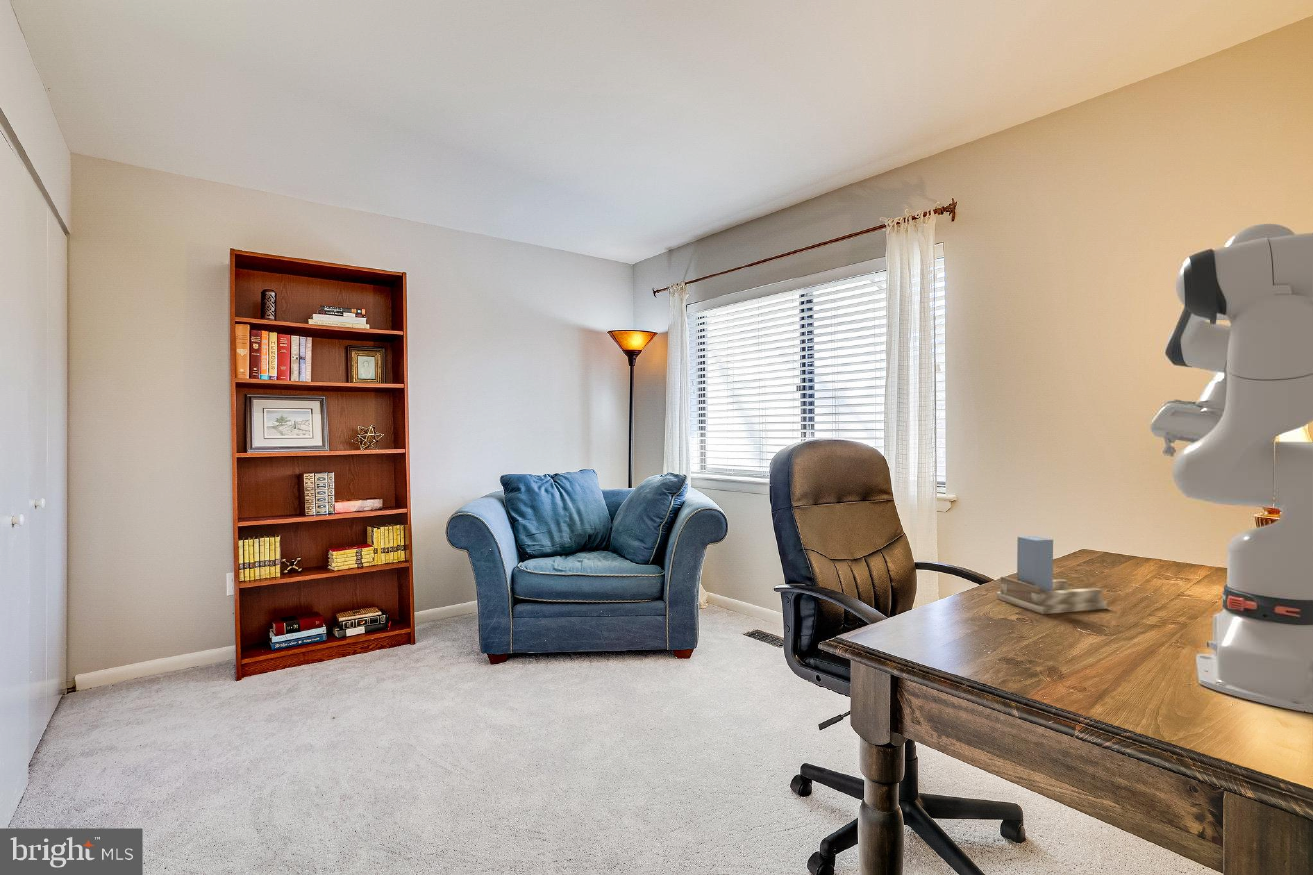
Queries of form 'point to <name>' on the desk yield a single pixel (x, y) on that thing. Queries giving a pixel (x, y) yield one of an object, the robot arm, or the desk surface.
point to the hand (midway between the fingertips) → (1193, 460)
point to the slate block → (1035, 561)
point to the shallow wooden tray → (1050, 597)
